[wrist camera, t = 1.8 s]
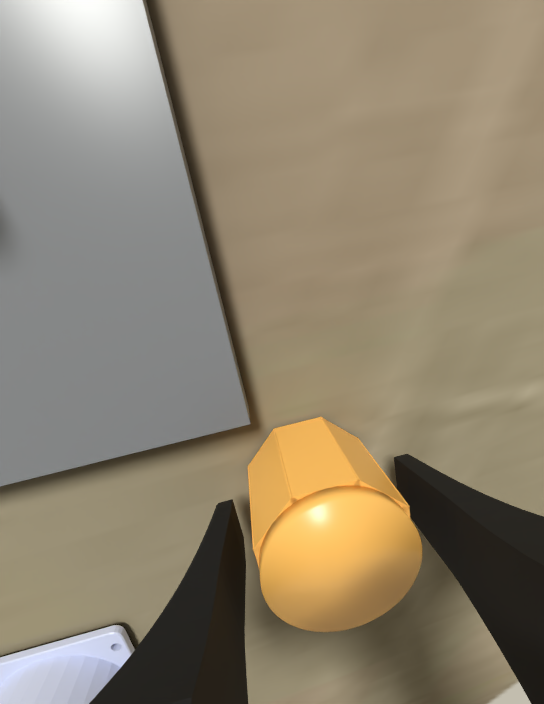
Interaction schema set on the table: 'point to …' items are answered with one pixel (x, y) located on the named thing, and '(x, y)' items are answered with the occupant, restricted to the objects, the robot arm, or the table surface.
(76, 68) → the plate
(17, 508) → the table surface
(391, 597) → the orange acorn nut
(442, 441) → the table surface
